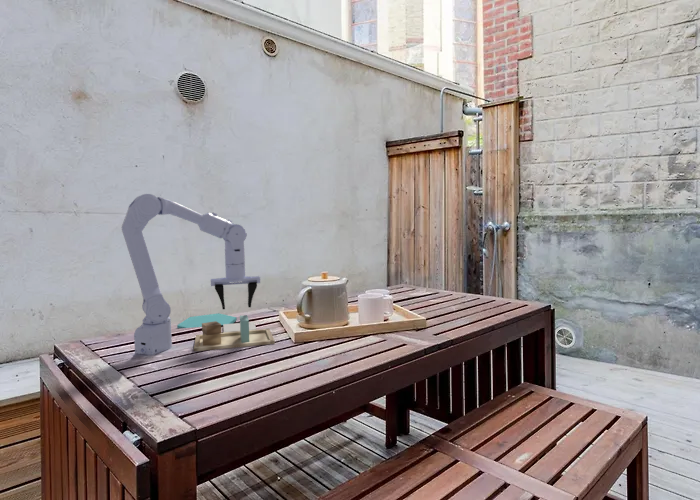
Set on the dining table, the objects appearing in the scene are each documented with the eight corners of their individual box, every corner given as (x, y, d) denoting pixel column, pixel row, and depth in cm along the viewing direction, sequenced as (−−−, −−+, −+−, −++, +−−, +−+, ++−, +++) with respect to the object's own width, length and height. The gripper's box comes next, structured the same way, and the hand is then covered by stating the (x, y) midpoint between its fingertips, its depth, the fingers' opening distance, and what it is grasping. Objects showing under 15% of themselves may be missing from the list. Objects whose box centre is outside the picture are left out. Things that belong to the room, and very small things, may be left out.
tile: (223, 338, 137) (223, 332, 137) (223, 330, 146) (223, 324, 146) (256, 335, 140) (256, 329, 139) (254, 327, 149) (254, 321, 149)
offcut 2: (203, 345, 125) (202, 335, 125) (203, 340, 130) (203, 331, 130) (221, 344, 127) (220, 333, 127) (221, 339, 132) (220, 329, 131)
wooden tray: (194, 355, 121) (193, 348, 120) (196, 341, 134) (196, 334, 134) (274, 347, 127) (274, 340, 127) (269, 334, 140) (269, 328, 140)
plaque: (220, 336, 144) (241, 318, 163) (220, 330, 143) (241, 313, 163) (169, 335, 145) (196, 317, 165) (169, 329, 145) (196, 312, 165)
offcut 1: (206, 335, 125) (206, 326, 125) (202, 331, 129) (201, 323, 129) (221, 332, 128) (221, 324, 127) (216, 329, 131) (216, 321, 131)
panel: (241, 343, 127) (240, 321, 127) (240, 336, 134) (239, 315, 134) (249, 342, 128) (248, 320, 128) (247, 336, 135) (247, 315, 134)
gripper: (210, 266, 127) (211, 312, 129) (260, 263, 132) (262, 308, 133) (210, 263, 134) (211, 307, 135) (258, 261, 138) (259, 303, 140)
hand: (236, 307), depth 135 cm, fingers open, 7 cm apart
